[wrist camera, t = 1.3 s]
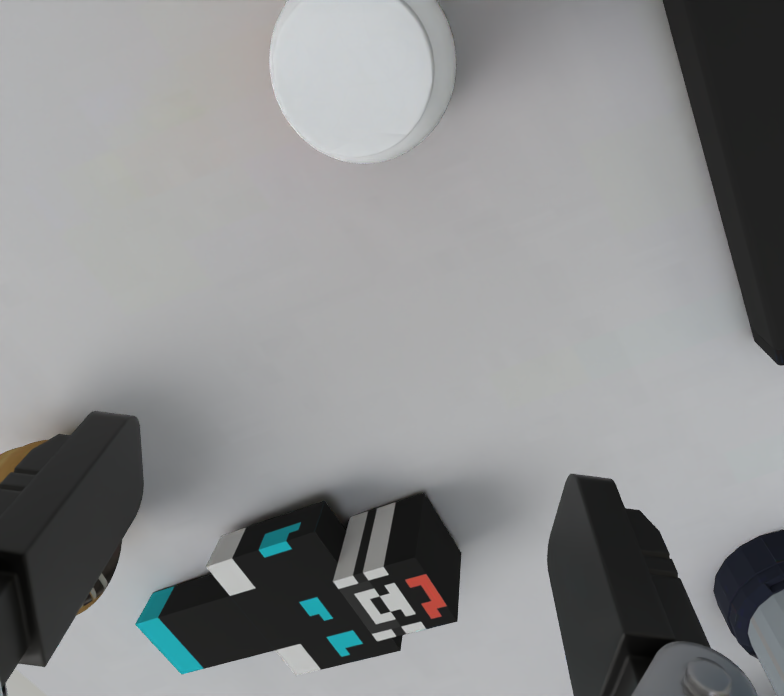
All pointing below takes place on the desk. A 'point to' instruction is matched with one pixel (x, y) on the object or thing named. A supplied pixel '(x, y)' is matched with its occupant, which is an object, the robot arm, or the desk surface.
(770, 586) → the humidifier
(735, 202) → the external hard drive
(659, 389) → the desk surface
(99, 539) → the robot arm
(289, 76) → the pill bottle
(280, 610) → the toy
